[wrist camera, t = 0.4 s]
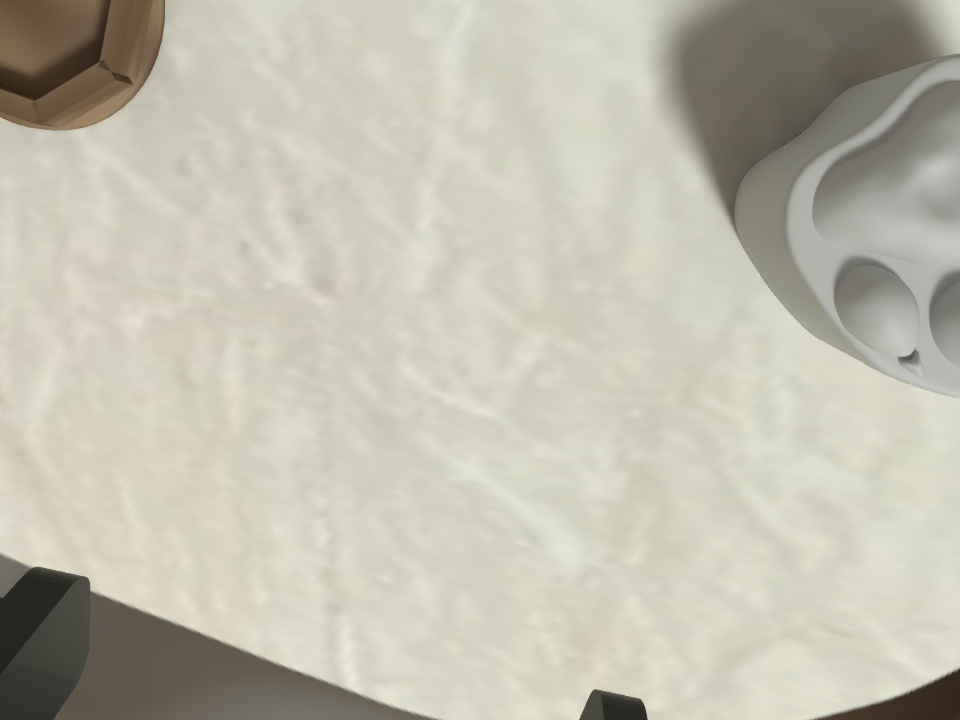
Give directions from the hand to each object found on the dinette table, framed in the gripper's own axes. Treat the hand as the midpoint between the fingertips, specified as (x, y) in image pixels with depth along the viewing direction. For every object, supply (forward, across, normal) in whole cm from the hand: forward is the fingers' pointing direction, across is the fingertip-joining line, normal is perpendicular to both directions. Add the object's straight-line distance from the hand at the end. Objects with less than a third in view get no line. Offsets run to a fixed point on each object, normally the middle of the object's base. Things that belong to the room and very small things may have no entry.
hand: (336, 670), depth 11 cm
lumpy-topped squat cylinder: (+26, -19, -5) cm, 32 cm away
